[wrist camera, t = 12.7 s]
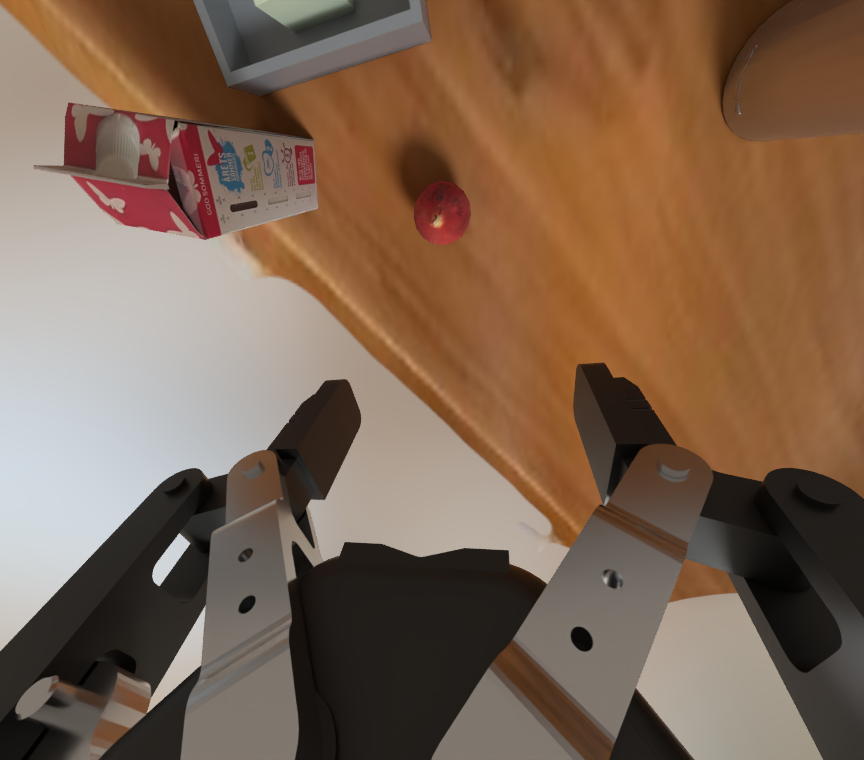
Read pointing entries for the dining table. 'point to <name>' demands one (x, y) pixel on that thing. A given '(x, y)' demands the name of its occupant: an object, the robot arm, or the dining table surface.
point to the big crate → (306, 41)
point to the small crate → (305, 11)
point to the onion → (442, 213)
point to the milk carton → (186, 171)
